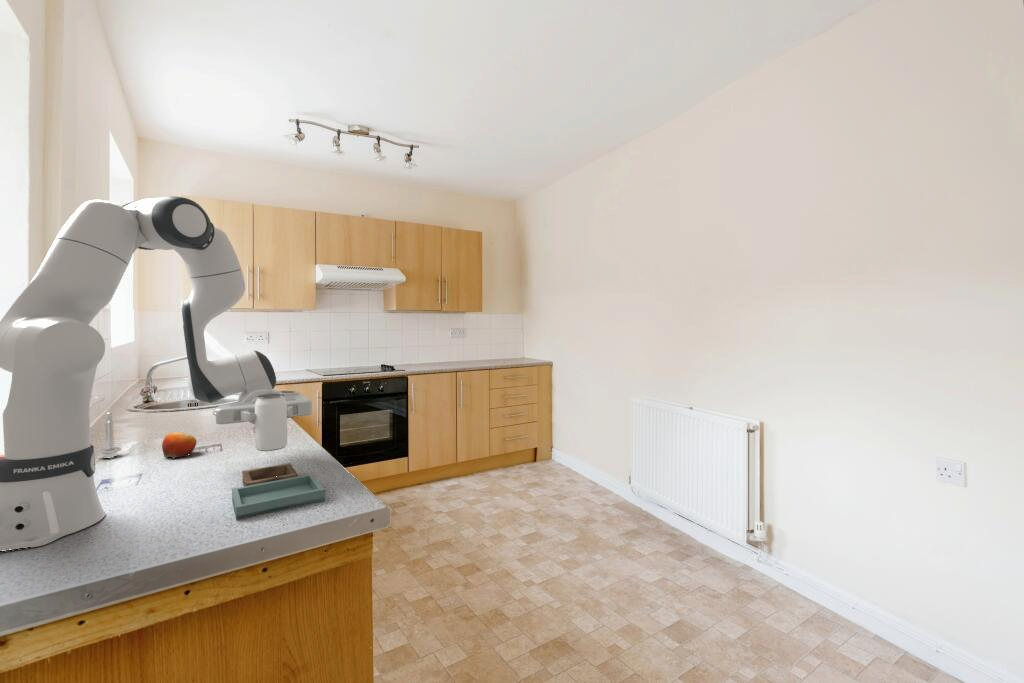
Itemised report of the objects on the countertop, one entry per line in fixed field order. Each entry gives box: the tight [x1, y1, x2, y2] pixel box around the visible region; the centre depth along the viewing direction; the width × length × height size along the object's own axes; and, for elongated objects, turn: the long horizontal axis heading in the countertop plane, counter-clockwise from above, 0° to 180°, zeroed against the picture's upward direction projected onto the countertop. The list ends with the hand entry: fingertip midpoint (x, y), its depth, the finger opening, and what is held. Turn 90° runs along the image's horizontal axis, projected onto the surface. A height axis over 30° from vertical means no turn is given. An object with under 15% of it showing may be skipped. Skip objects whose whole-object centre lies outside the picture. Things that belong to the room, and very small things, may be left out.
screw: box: [98, 411, 122, 458], centre depth 127 cm, size 13×5×5 cm
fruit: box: [161, 431, 197, 460], centre depth 128 cm, size 8×8×8 cm
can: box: [254, 394, 288, 452], centre depth 103 cm, size 6×6×12 cm
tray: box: [231, 473, 326, 521], centre depth 95 cm, size 16×12×2 cm
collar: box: [241, 462, 299, 487], centre depth 106 cm, size 10×10×2 cm
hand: (269, 415), depth 102 cm, fingers closed on can, 6 cm apart
